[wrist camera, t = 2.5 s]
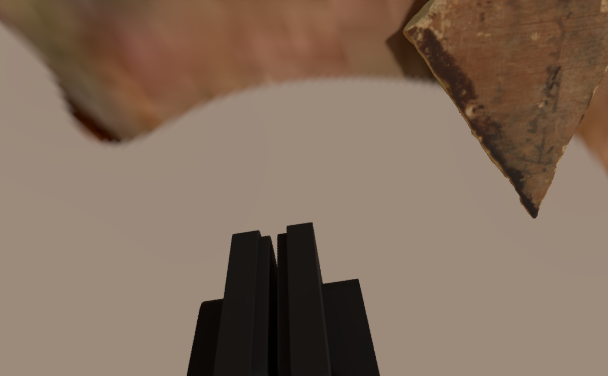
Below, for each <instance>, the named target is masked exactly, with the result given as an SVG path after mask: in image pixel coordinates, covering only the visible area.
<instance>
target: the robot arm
mask: <svg viewBox="0 0 608 376" xmlns="http://www.w3.org/2000/svg"><path fill="white" fill-rule="evenodd" d="M277 247H278V248H277V249H278V250H277V252H278V253H277V255H278V256H277V264H276V259H275V254H274V250H273V245H272V241H271V237H270V236H263V237H261V234H260V231H259V230H257V231H251V232H244V233H237V234H233V235H232V241H231V248H230V255H229V263H228V270H227V277H226V284H225V292H224V299H218V300H211V301H204V302H203V303H202V304H201V306H200V310H199V315H198V320H197V325H196V331H195V336H194V340H193V346H192V351H191V357H190V361H189V366H188V372H187V376H380V374H379V370H378V365H377V361H376V356H375V351H374V347H373V342H372V338H371V333H370V329H369V324H368V320H367V315H366V311H365V306H364V302H363V297H362V293H361V288H360V284H359V280H358V279H352V280H346V281H340V282H332V283H325V284H323V282H322V276H321V270H320V265H319V258H318V253H317V246H316V241H315V235H314V229H313V223H312V222H311V223H303V224H296V225H290V226H287V233H283V234H278V237H277Z"/></svg>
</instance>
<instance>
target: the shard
mask: <svg viewBox="0 0 608 376" xmlns="http://www.w3.org/2000/svg"><path fill="white" fill-rule="evenodd" d="M403 34H404V35H405V37H406V38H407V39H408V40H409V41H410V42H411V43H412V44H413V45H414V46H415V47H416V49H417V51H418V52H419V54H420V55H421V56H422V57H423V58H424V60H425V61H426V63H427V65H428V66H429V68H430V70H431V71H432V73H433V75H434V76H435V77H436V78H437V81H438V83H439V84H440V85H441V86H442V87H443V89H444V90H445V92H446V93H447V94H448V95H449V96H450V98H451V99H452V101H453V102H454V104H455V105H456V106H457V108H458V110H459V112H460V113H461V114H462V116H463V117H464V119H465V121H466V122H467V123H468V126H469V127H470V129H471V132H472V135H474V136H475V137H476V138H477V139H478V140H479V142H480V144H481V146H482V148H483V149H484V150H485V152H486V153H487V155H488V156H489V158H490V159H491V161H492V162H493V163H494V164H495V165H496V166H497V167H498V168H499V169H500V171H501V172H502V173H503V175H504V176H505V177H507V178H508V179H509V181H510V182H511V184H512V185H513V186H514V188H515V190H516V192H517V193H518V194H519V196H520V202H521V204H522V205H523V206H524V207H525V209H526V211H527V212H528V213H529V214H530V215H531V217H532V218H536V217H537V215H538V210H539V208H540V206H541V203H542V200H543V198H544V197H545V195H546V193H547V190H548V188H549V187H550V185H551V183H552V180H553V178H554V174H555V172H556V168H557V164H558V162H559V161H560V159H561V157H562V155H563V153H564V151H565V149H566V147H567V145H568V143H569V141H570V140H571V138H572V136H573V134H574V132H575V130H576V129H577V128H578V127H579V125H580V123H581V121H582V119H583V117H584V116H585V114H586V111H587V109H588V107H589V105H590V102H591V100H592V97H593V95H594V93H595V90H596V88H597V87H598V86H599V84H600V83H601V81H602V79H603V77H604V75H605V73H606V71H607V68H608V0H429V1H428V2H427V3H426V4H425V5H424V6H423V7H422V8H421V10H420V11H419V12H418V13H417V14H416V15H414V16H413V18H412V19H411V20H410V21H409V22H408V23H407V24H406V26H405V28H404V30H403Z"/></svg>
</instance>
